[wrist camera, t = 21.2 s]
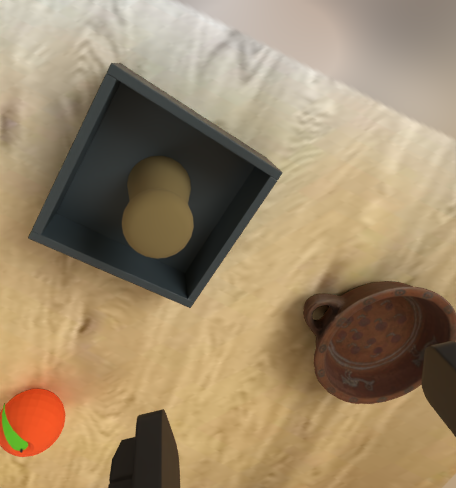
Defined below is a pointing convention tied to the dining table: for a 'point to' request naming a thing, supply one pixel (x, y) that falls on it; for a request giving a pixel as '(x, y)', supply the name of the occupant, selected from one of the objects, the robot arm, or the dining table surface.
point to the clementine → (31, 422)
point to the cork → (158, 208)
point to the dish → (377, 339)
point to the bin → (116, 191)
